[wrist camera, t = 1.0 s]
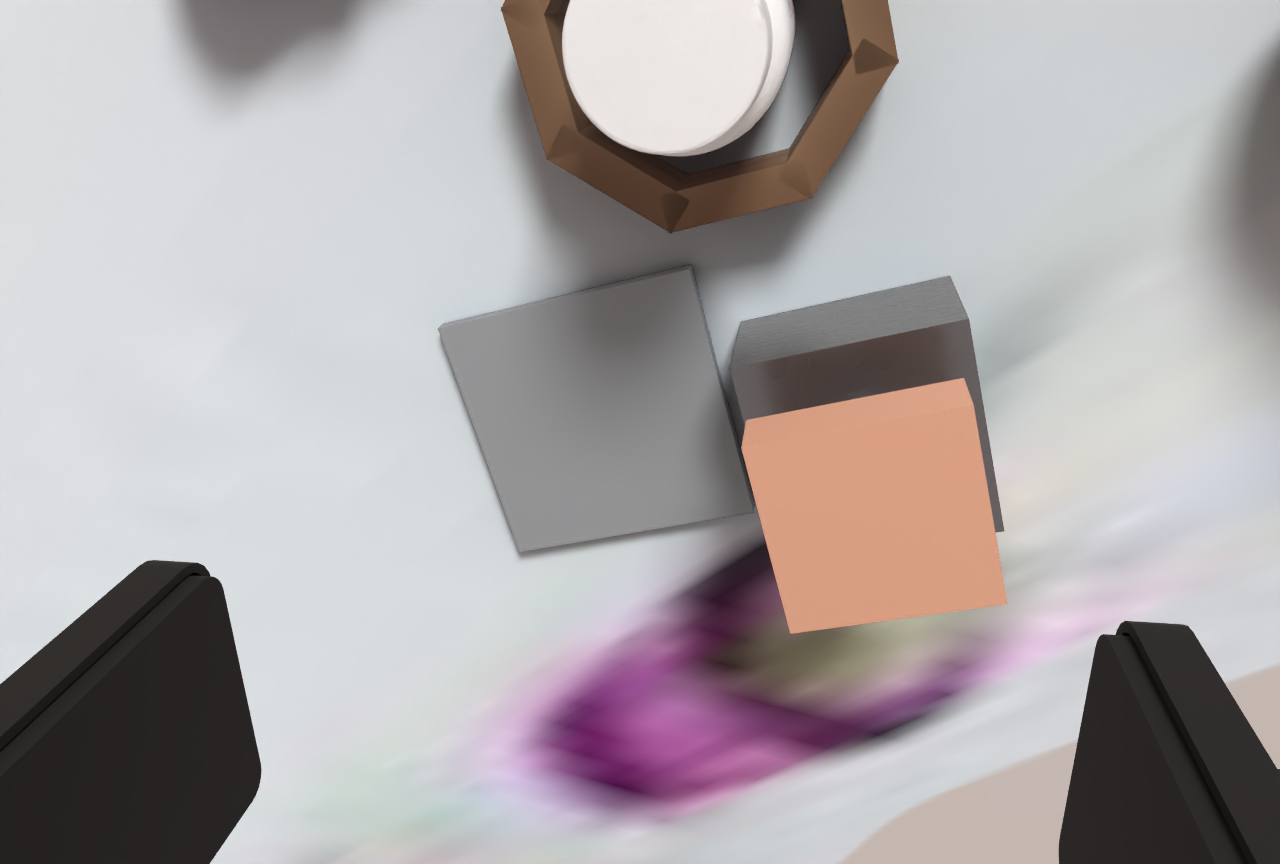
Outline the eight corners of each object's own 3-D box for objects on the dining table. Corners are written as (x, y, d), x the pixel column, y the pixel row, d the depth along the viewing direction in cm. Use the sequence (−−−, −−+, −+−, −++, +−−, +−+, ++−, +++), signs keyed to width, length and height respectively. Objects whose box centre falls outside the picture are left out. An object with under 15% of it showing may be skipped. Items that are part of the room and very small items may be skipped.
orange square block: (946, 329, 26) (973, 404, 21) (976, 500, 27) (1007, 604, 23) (755, 369, 27) (741, 448, 22) (795, 530, 29) (790, 633, 24)
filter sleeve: (843, -223, 24) (846, -245, 22) (910, 156, 27) (919, 172, 25) (495, -100, 26) (464, -108, 24) (595, 236, 29) (576, 256, 27)
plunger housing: (949, 275, 28) (968, 318, 24) (982, 465, 30) (1004, 531, 27) (740, 321, 30) (729, 368, 26) (785, 499, 32) (780, 565, 28)
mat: (690, 264, 29) (688, 269, 29) (754, 504, 32) (753, 512, 32) (443, 323, 31) (437, 328, 31) (523, 544, 34) (519, 552, 34)
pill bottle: (702, 160, 28) (658, 226, 20) (581, 29, 27) (487, 47, 20) (836, 31, 26) (841, 50, 18) (710, -114, 25) (662, -157, 18)
